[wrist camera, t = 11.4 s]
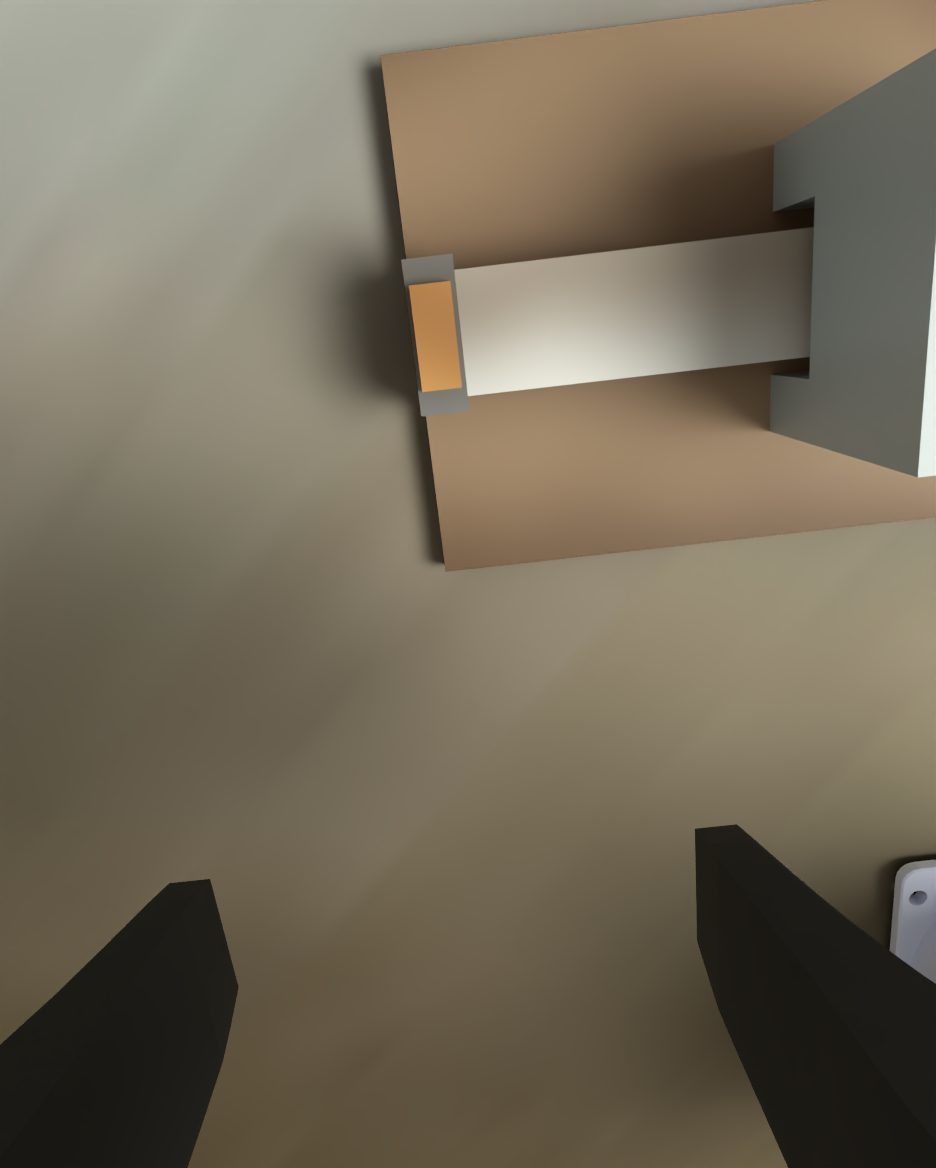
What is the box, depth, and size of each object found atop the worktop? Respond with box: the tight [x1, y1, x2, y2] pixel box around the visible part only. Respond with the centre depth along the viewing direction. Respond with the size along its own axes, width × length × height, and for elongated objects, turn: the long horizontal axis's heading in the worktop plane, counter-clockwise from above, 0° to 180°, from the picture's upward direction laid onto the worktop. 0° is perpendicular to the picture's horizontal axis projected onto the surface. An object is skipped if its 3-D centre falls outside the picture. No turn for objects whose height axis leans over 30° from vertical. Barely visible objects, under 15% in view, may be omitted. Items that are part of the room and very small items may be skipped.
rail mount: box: [381, 0, 936, 572], centre depth 16 cm, size 11×18×3 cm, turn 96°
